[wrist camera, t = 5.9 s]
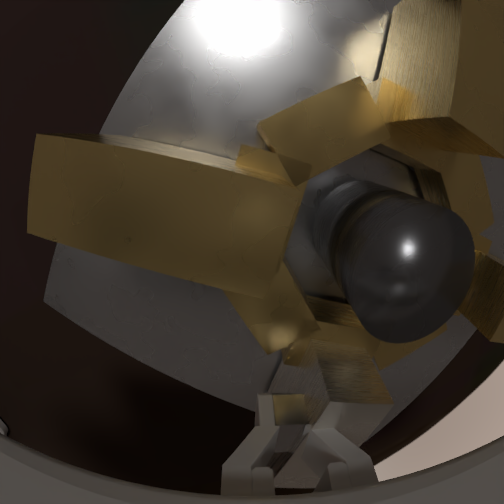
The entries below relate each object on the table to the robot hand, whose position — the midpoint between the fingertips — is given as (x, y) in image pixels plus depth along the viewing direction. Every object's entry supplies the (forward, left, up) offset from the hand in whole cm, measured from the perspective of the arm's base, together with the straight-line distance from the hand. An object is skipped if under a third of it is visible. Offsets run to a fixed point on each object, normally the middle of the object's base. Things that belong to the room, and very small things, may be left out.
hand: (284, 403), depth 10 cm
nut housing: (+7, 0, -5) cm, 9 cm away
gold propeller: (+7, 0, -3) cm, 7 cm away
